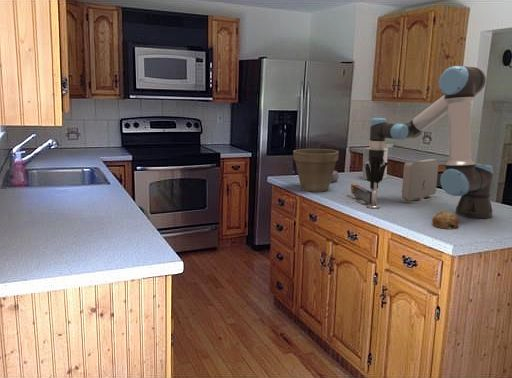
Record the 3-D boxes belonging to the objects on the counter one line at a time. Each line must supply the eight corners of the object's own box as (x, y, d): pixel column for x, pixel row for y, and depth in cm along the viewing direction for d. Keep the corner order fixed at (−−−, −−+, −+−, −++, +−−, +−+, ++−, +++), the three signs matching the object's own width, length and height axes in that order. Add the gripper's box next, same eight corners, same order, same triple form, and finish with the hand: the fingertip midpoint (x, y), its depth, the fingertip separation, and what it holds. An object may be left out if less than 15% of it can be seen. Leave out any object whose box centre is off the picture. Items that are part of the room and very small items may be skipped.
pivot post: (382, 208, 220) (383, 191, 218) (370, 208, 219) (371, 192, 217) (376, 205, 225) (378, 189, 224) (365, 205, 224) (366, 189, 223)
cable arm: (375, 202, 224) (375, 193, 223) (369, 203, 223) (369, 193, 222) (356, 192, 247) (356, 183, 246) (350, 192, 246) (351, 184, 246)
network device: (411, 204, 228) (415, 164, 224) (396, 201, 235) (399, 162, 231) (439, 198, 244) (443, 160, 240) (424, 195, 251) (427, 158, 247)
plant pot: (282, 188, 263) (283, 150, 258) (312, 183, 279) (313, 147, 275) (316, 196, 244) (318, 154, 240) (345, 190, 261) (347, 151, 256)
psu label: (365, 198, 240) (365, 197, 240) (352, 199, 239) (352, 197, 239) (359, 195, 248) (359, 194, 247) (347, 195, 246) (347, 194, 246)
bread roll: (438, 237, 188) (445, 222, 184) (424, 221, 196) (431, 206, 192) (458, 235, 191) (466, 220, 186) (444, 219, 199) (451, 204, 194)
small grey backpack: (322, 178, 297) (301, 182, 284) (323, 165, 295) (301, 168, 282) (341, 182, 286) (320, 185, 273) (342, 168, 284) (320, 171, 271)
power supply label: (375, 204, 228) (375, 202, 228) (361, 204, 227) (361, 203, 227) (368, 200, 236) (368, 199, 236) (355, 200, 235) (355, 199, 235)
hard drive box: (376, 176, 305) (378, 146, 301) (386, 178, 299) (388, 147, 295) (361, 179, 295) (363, 147, 291) (371, 181, 289) (373, 149, 285)
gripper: (383, 147, 241) (380, 192, 246) (361, 148, 237) (358, 194, 242) (392, 149, 234) (388, 195, 239) (369, 150, 230) (366, 197, 235)
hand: (373, 194), depth 240 cm, fingers closed
